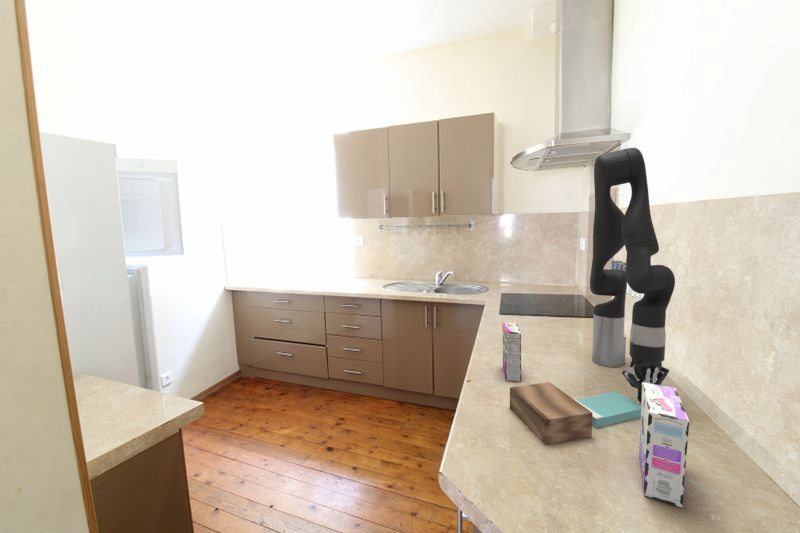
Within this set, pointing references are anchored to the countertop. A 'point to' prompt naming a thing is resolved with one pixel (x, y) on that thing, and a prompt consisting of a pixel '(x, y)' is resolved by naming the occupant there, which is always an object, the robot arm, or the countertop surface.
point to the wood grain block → (550, 413)
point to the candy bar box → (511, 351)
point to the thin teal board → (610, 409)
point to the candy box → (663, 443)
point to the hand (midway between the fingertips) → (643, 402)
